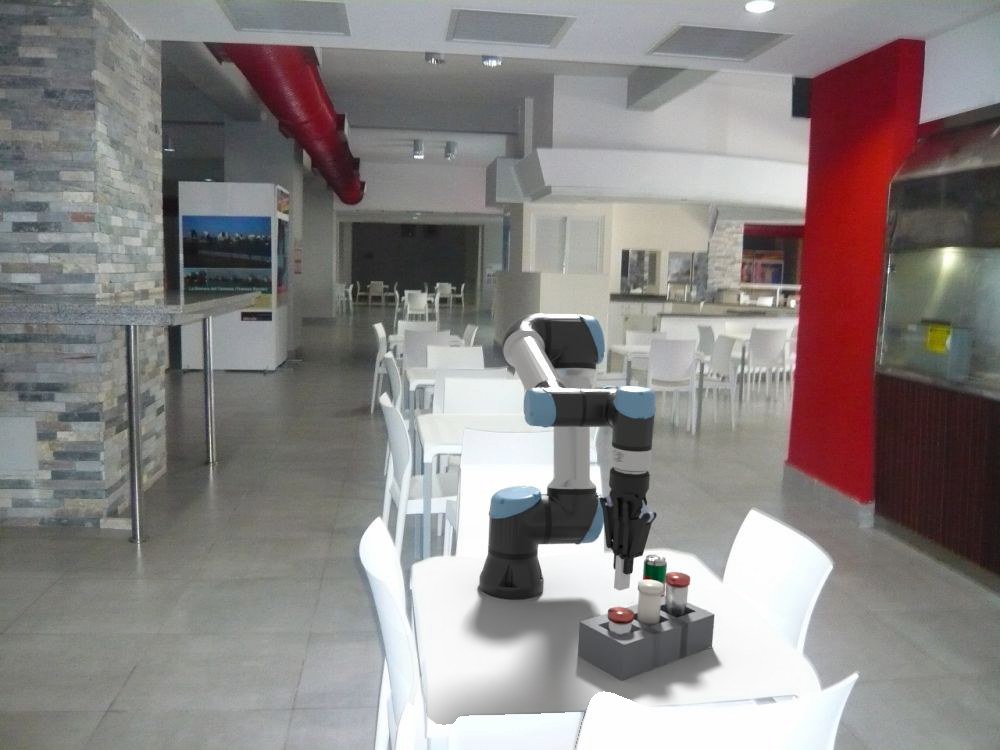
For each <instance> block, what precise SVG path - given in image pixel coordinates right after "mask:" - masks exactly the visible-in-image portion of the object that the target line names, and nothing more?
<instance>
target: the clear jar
mask: <svg viewBox="0 0 1000 750" xmlns="http://www.w3.org/2000/svg"><path fill="white" fill-rule="evenodd" d="M665 582H666V585H665V607H664V612H665V613H668V614H670V615H672V616H674V617H676V618H677V617H681V616H684V615H686V609H687V603H688V593H689V586H690V585H691V584H690V583H691V577H690V575H688V574H686V573H683V572H679V571H678V572H677V571H671V572H666V575H665Z"/></svg>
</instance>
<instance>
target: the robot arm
mask: <svg viewBox="0 0 1000 750" xmlns="http://www.w3.org/2000/svg"><path fill="white" fill-rule="evenodd" d="M605 350H606V349H605V337H604V333H603V328H602V326H601V324H600V321H599V320H598V319H597V318H596V317H594V316H592V315H587V314H579V313H576V314H573V313H571V314H569V313H566V314H565V313H562V314H561V313H531V314H530V313H529V314H526V315H522V316H520V317H519V318H518V319H516V320H514V321H513V322H512V323H511V324H510V325H509V326H507V328H506V330H505V331H504V333H503V336H502V339H501V351H502V355H503V357H504V359H505V361H506V362H507V363H508V364H509V365H510V366H511V367H513V368H514V370H515V372H516V373H517V375H518V378H519V379H520V381H521V384H522V386H523V388H524V390H525V393H524V398H523V415H524V420H525V423H526V424H527V425H529V426H530V427H542V428H553V479H552V480H551V481H550V482H549V483H548V484H547V486H546V487H547V488H546V493H542V492H541V490H540V489H539V488H537V487H534V486H526V485H519V486H518V485H516V486H515V485H514V486H511V487H506V488H503V489H499V490H498V491H495V493H494V494H493V495H492V496H491V498H490V502H489V503H490V504H489V511H488V516H489V521H488V522H489V523H488V545H487V556H486V558H485V561H484V565H483V568H482V571H481V572H480V574H479V580H478V581H479V582H478V583H479V584H478V586H479V589H480V590H481V591H482V592H484V593H486V594H488V595H490V596H493V597H495V598H496V597H498V598H502V599H510V600H512V599H514V600H516V599H517V600H518V599H519V600H521V599H527V598H533V597H536V596H539V595H540V594H541V593H542V592H543V590H544V585H545V584H544V583H545V582H544V580H545V579H544V576H543V572H542V568H541V564H540V561H539V557H538V555H539V554H538V551H539V550H538V549H539V545H567V544H568V545H571V544H574V545H576V546H577V545H581V544H590V543H594V542H595V541H597V539H599V537H600V535H601V533H602V531H603V529H604V537H605V545H606V547H607V548H608V549H611V550H612V553H613V567H612V568H613V570H614V571H615V572H614V582H613V583H614V585H613V588H614V589H616V590H617V591H618V592H619V591H623V590H626V589H629V588H630V585H631V574H633V572H634V562H635V561H634V560H635V558H639V557H642V556H643V555H644V552H645V548H646V546H647V542H648V537H649V535H650V531H651V528H652V524H653V522H654V521H655V520H656V518H657V512H656V511H651V509H650V508H649V507H648V501H647V493H648V491H649V490H650V479H651V472H650V471H649V470H651V467H652V452H653V451H652V450H653V436H654V427H655V416H656V410H657V406H656V393H655V391H654V390H653V389H652V388H649V387H644V386H635V385H623V386H620V387H619V386H616V385H615V386H614V385H606V386H605V385H604V386H603V387H601V388H590V387H591V386H590V385H591V384H590V382H591V381H590V380H591V377H592V376H593V375H594V374H595V373H596V372H597V365H599V364H601V363H603V360H604V359H605V358H604V357H605ZM590 428H611V429H612V432H611V433H612V436H611V437H612V438H611V451H610V453H611V454H610V466H611V468H610V469H609V478H608V479H609V480H608V486H609V489H610V491H609V493H608V494H609V495H606V496H603V495H602V494H601V493H599V492H597V486H596V485H597V484H595V483H594V482H593V481H592V480H591V472H590V471H591V470H590V469H591V458H590V457H591V451H590V449H591V439H590V437H591V432H590V431H591V429H590Z"/></svg>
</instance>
